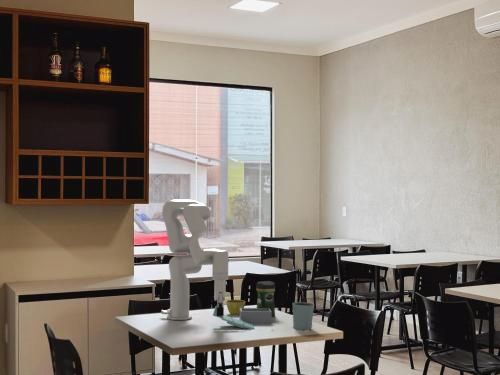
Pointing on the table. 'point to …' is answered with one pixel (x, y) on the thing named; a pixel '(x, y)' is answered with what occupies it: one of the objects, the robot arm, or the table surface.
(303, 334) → the table surface
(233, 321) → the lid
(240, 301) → the flower pot
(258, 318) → the tub
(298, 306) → the grey-blue tapered cup
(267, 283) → the coffee jar
